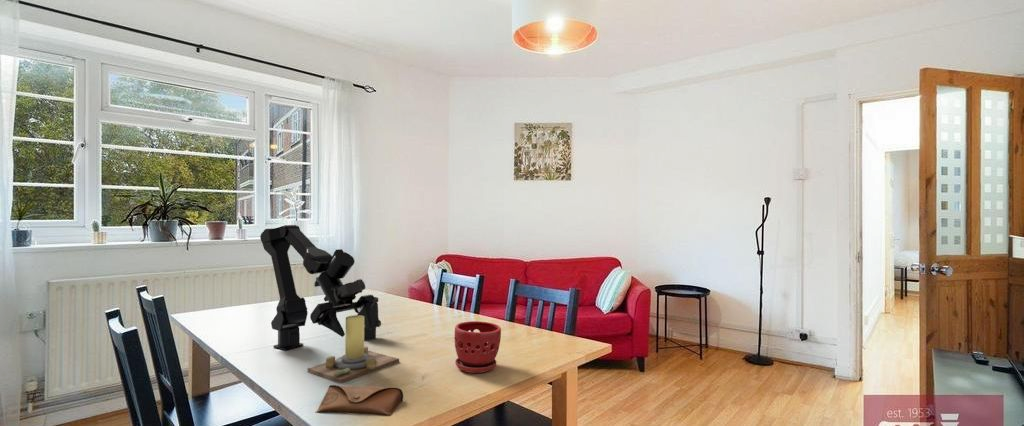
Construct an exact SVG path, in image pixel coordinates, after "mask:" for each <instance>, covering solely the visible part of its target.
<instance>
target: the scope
mask: <svg viewBox="0 0 1024 426" xmlns="http://www.w3.org/2000/svg"><path fill="white" fill-rule="evenodd" d="M374 298H375V300H376V302H375V303H374V304H373V306H372V307H371V309H370V316H371V323H372V328H371V329H370V330H369V329H368V328H367V327H366V326H365V325H364V341H372V340H373V341H374V340H376V339H377V328H380V327H381V325H382V321H381V320H380V319H379V304H378V302H379V298H378V297H377V296H374Z"/></svg>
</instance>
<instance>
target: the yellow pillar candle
mask: <svg viewBox="0 0 1024 426" xmlns="http://www.w3.org/2000/svg"><path fill="white" fill-rule="evenodd" d="M344 338H345V344H344V345H345V347H344V348H345V351H344V352H345V354H344V355H342V356H341V357H342V362H343V363H346V364H357V363H362V362H364V361H366V359H367V358H368V355H367V354H366V353H364V347H365V340H364V316H361V315H357V314H355V315H349V316H345V336H344Z"/></svg>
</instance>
